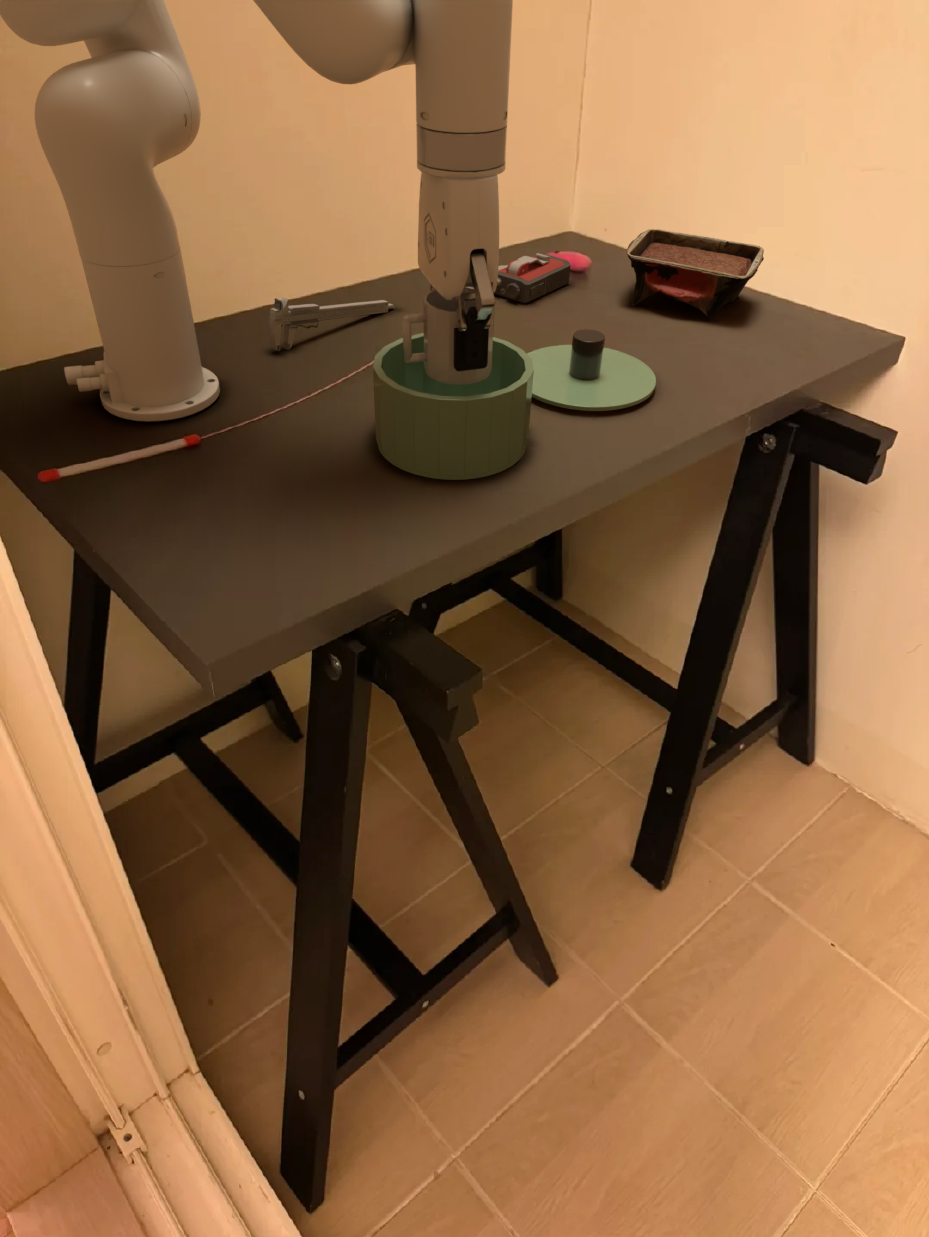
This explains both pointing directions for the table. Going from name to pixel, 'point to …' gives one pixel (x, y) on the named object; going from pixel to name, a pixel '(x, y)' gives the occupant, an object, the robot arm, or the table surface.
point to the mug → (442, 340)
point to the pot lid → (589, 375)
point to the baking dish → (692, 268)
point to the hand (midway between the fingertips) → (458, 351)
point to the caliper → (313, 317)
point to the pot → (452, 414)
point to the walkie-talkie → (531, 277)
